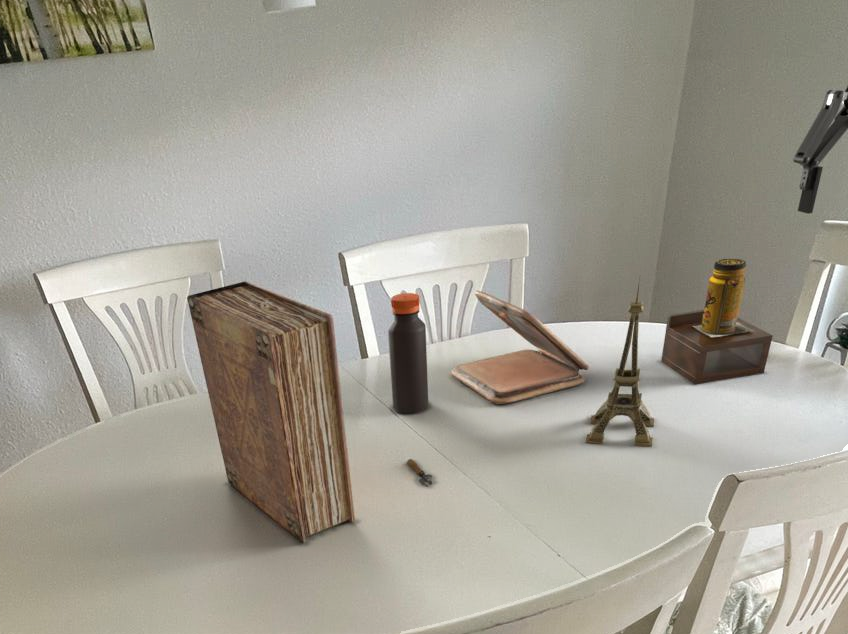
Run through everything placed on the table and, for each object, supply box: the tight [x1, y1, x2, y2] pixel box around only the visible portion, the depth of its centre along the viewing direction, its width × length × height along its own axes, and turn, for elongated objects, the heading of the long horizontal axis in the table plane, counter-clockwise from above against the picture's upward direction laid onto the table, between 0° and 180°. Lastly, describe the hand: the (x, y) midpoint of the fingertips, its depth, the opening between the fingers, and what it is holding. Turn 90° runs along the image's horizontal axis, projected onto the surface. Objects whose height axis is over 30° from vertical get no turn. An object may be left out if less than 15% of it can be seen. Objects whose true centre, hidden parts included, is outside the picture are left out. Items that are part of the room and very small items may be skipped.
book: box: [186, 281, 356, 545], centre depth 114 cm, size 25×9×30 cm, turn 34°
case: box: [451, 290, 590, 405], centre depth 149 cm, size 20×21×16 cm
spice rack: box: [660, 309, 774, 385], centre depth 148 cm, size 13×14×9 cm
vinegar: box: [387, 292, 429, 415], centre depth 142 cm, size 7×7×20 cm
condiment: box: [693, 258, 754, 338], centre depth 143 cm, size 7×8×12 cm
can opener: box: [406, 458, 433, 487], centre depth 127 cm, size 9×2×1 cm, turn 15°
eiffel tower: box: [585, 276, 655, 447], centre depth 125 cm, size 11×11×25 cm
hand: (842, 206), depth 129 cm, fingers open, 13 cm apart
